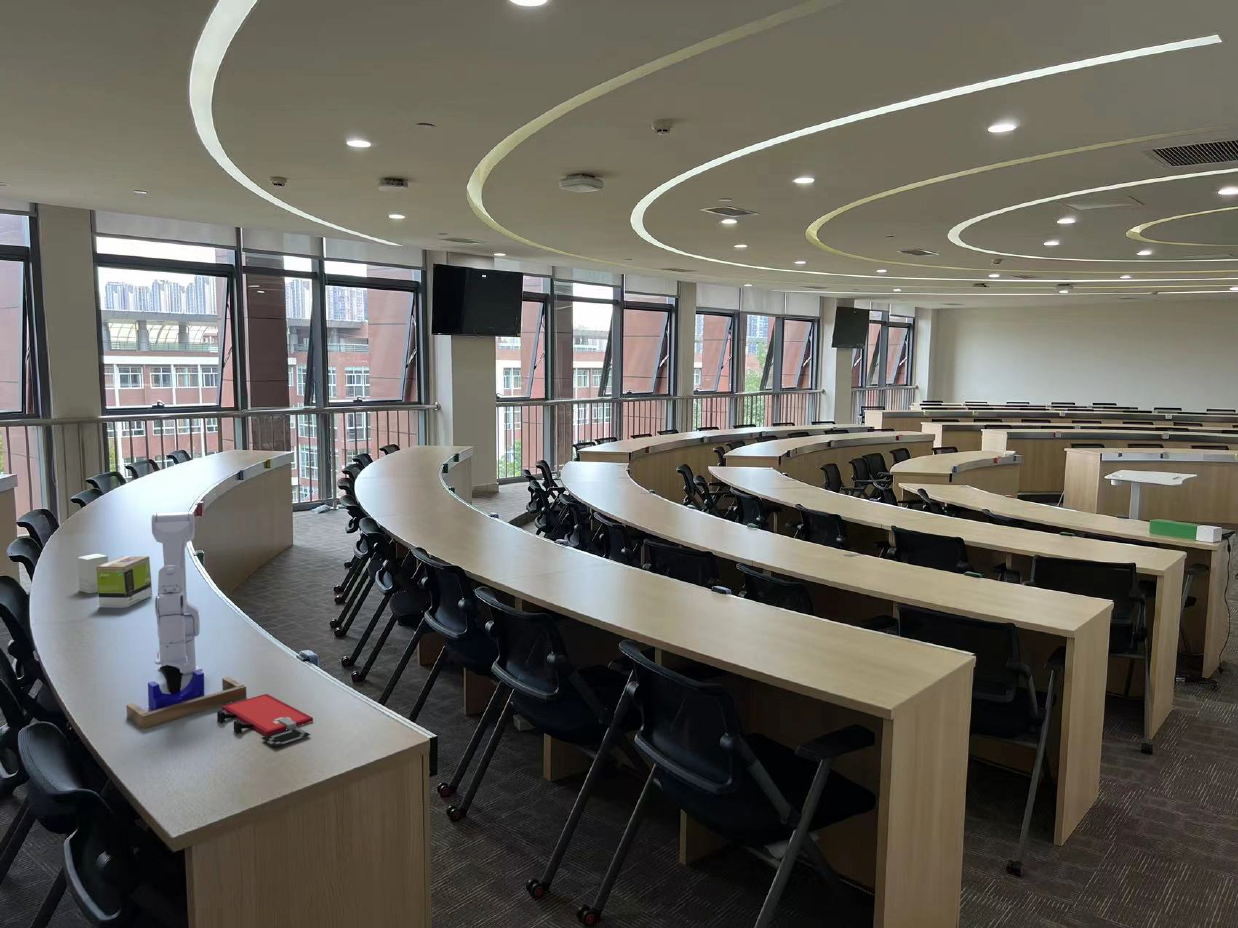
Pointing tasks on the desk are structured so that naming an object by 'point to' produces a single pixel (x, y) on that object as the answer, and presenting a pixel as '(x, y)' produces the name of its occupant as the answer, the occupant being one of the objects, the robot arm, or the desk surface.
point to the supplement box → (89, 571)
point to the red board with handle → (267, 718)
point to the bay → (188, 705)
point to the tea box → (124, 581)
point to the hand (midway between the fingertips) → (174, 692)
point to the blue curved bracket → (189, 692)
